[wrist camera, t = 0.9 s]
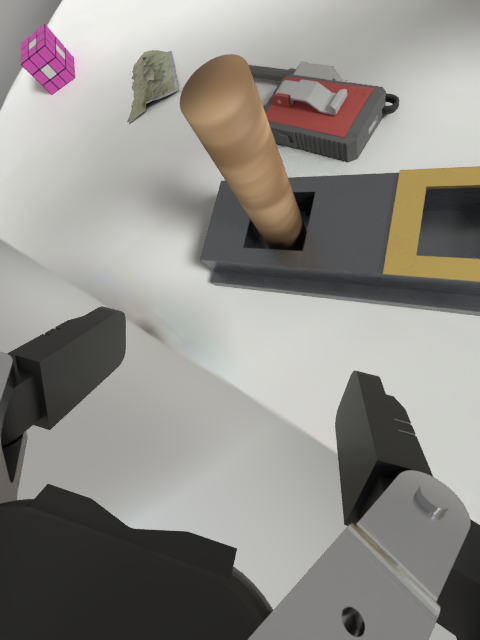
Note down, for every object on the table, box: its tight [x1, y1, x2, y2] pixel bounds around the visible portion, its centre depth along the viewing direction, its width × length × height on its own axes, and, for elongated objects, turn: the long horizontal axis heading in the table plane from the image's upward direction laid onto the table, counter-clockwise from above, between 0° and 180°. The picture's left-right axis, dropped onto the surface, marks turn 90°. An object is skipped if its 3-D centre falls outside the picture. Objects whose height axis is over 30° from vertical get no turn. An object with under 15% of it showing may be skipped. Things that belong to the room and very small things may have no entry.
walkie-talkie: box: [249, 62, 399, 162], centre depth 32 cm, size 9×4×20 cm
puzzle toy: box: [21, 24, 75, 94], centre depth 53 cm, size 6×6×6 cm
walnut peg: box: [180, 55, 306, 251], centre depth 23 cm, size 4×4×16 cm
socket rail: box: [200, 166, 480, 316], centre depth 26 cm, size 11×28×4 cm, turn 77°
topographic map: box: [127, 50, 179, 124], centre depth 46 cm, size 14×14×2 cm
